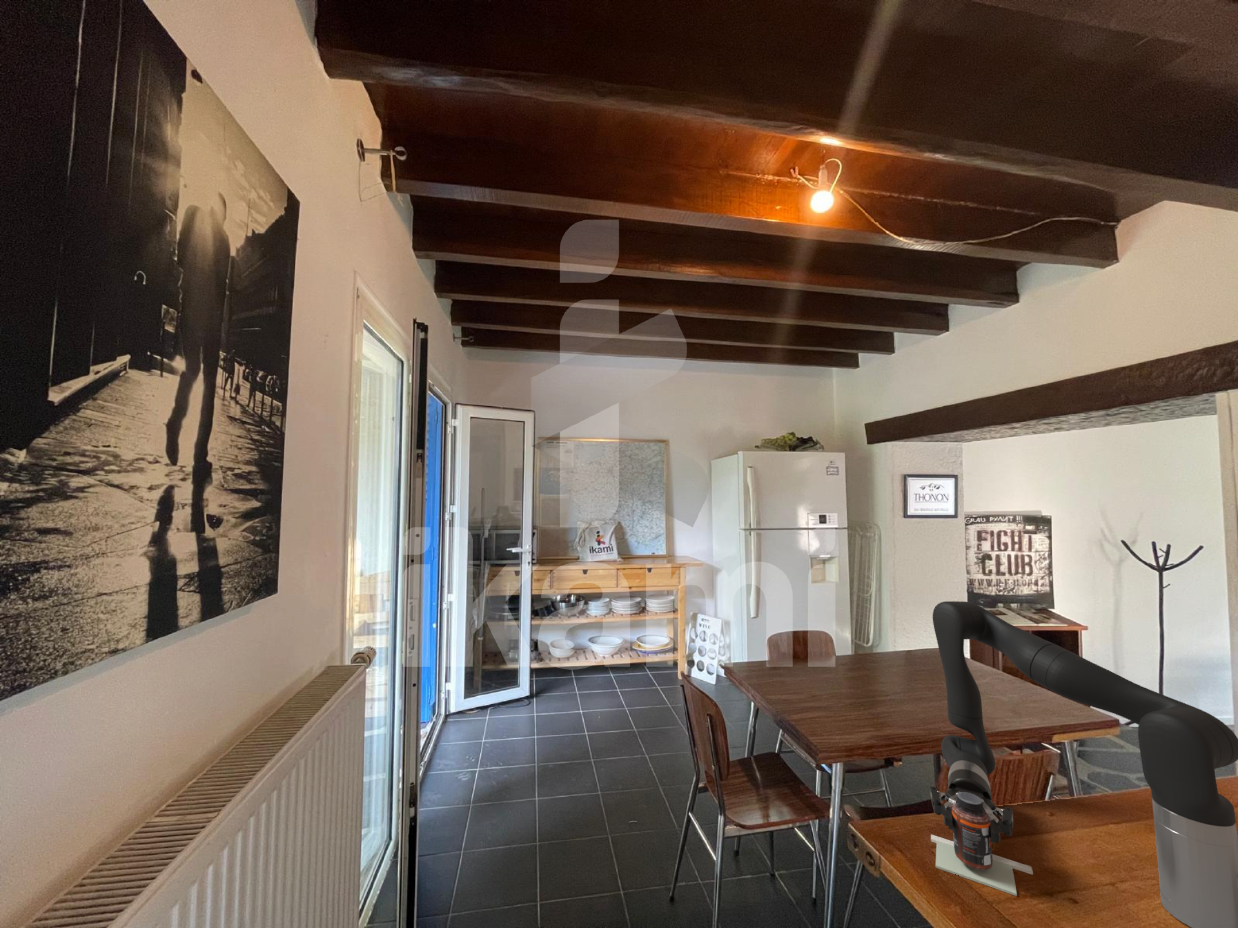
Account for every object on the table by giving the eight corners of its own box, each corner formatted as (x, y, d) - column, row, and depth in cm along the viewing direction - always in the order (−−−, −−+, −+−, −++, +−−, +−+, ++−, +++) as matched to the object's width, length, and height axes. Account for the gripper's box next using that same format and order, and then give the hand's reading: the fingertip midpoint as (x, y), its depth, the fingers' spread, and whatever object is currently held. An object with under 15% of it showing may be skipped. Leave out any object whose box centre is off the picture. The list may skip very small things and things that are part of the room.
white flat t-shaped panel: (1031, 869, 92) (1031, 866, 92) (1039, 903, 84) (1039, 900, 84) (931, 836, 101) (931, 834, 101) (929, 865, 93) (929, 862, 93)
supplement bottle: (1000, 873, 89) (995, 809, 90) (963, 869, 90) (959, 805, 91) (982, 850, 95) (978, 790, 95) (948, 846, 96) (945, 786, 97)
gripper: (928, 759, 109) (925, 797, 95) (1010, 779, 101) (1019, 824, 87) (930, 794, 108) (927, 837, 95) (1013, 817, 100) (1022, 868, 86)
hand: (971, 830), depth 91 cm, fingers closed on supplement bottle, 6 cm apart
